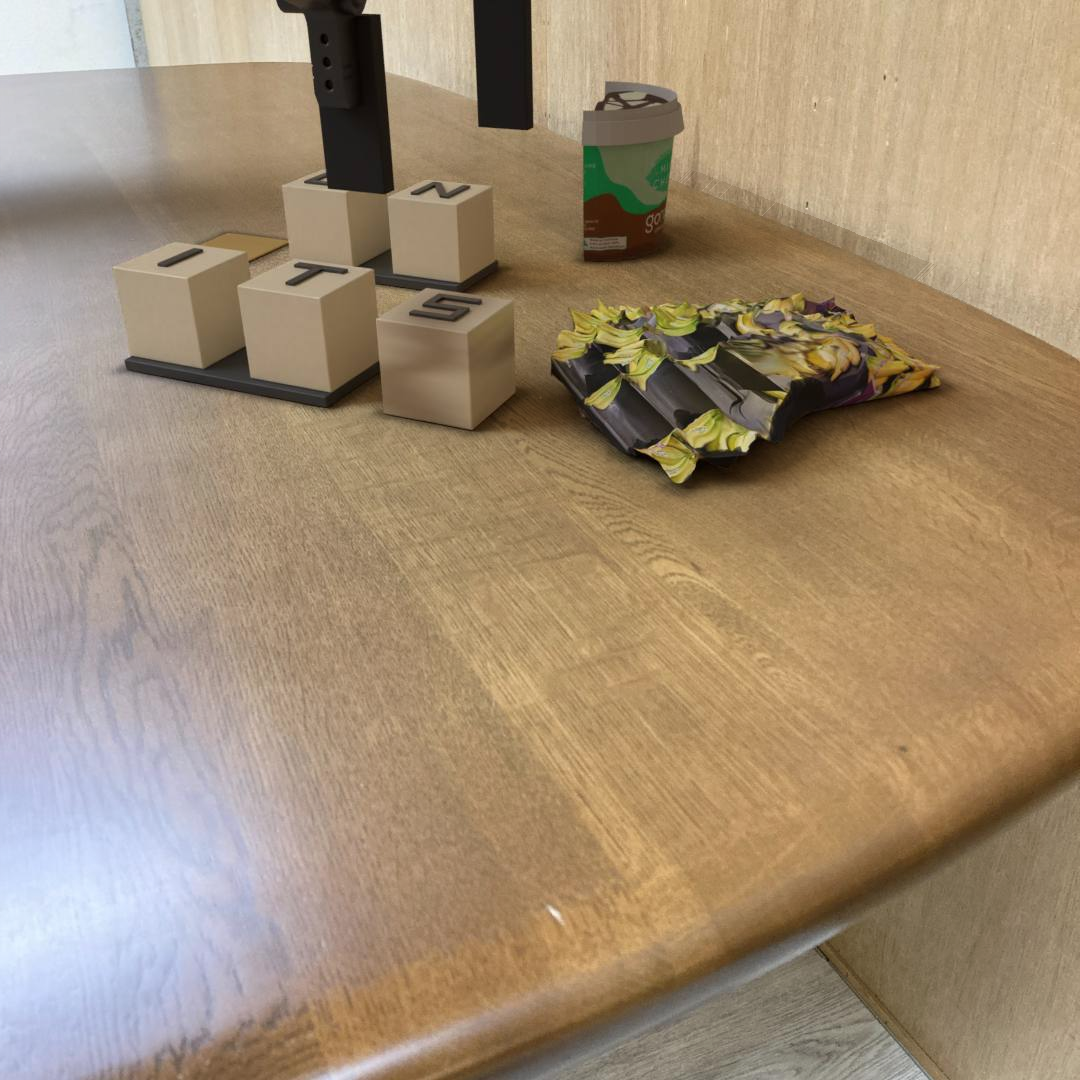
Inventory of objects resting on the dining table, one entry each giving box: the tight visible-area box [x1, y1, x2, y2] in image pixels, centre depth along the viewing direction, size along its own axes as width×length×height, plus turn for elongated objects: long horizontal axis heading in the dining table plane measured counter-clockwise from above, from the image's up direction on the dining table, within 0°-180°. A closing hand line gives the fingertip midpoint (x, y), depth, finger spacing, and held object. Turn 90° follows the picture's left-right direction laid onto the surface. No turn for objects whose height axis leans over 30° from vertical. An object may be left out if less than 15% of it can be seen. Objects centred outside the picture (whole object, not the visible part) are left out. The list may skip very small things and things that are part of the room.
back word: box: [199, 168, 499, 293], centre depth 77 cm, size 22×6×6 cm, turn 66°
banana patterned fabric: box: [549, 292, 941, 484], centre depth 58 cm, size 20×16×7 cm
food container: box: [581, 80, 685, 262], centre depth 79 cm, size 12×6×10 cm, turn 170°
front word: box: [112, 241, 381, 408], centre depth 61 cm, size 13×6×6 cm, turn 66°
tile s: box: [376, 288, 517, 431], centre depth 57 cm, size 5×5×5 cm
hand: (440, 156), depth 52 cm, fingers open, 13 cm apart
